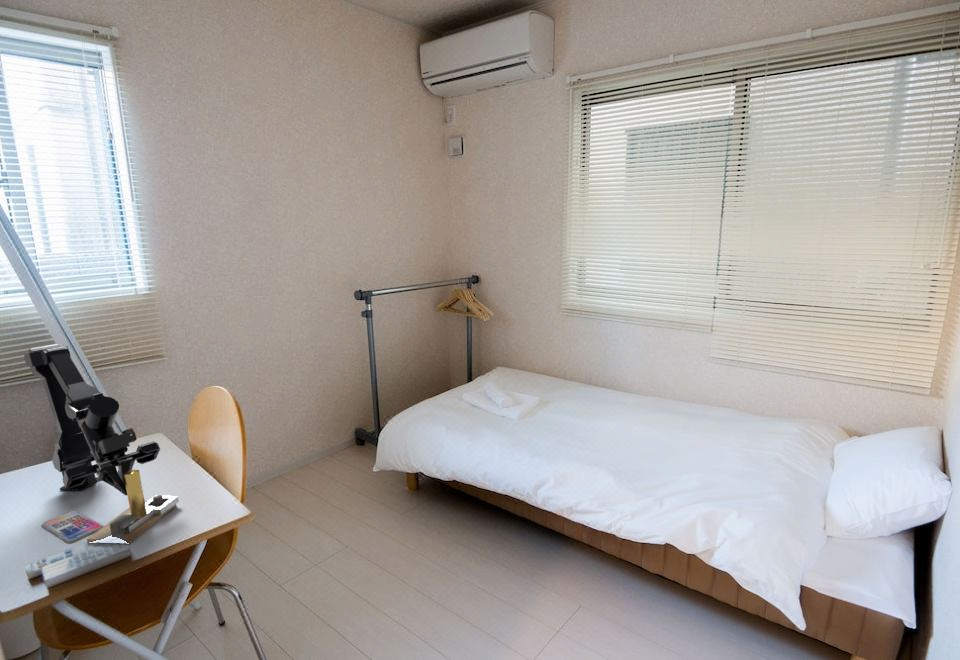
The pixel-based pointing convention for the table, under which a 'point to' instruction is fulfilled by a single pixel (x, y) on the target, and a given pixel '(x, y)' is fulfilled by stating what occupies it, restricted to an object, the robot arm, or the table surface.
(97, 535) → the keeper board
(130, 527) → the link
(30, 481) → the table surface
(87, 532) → the smartphone
